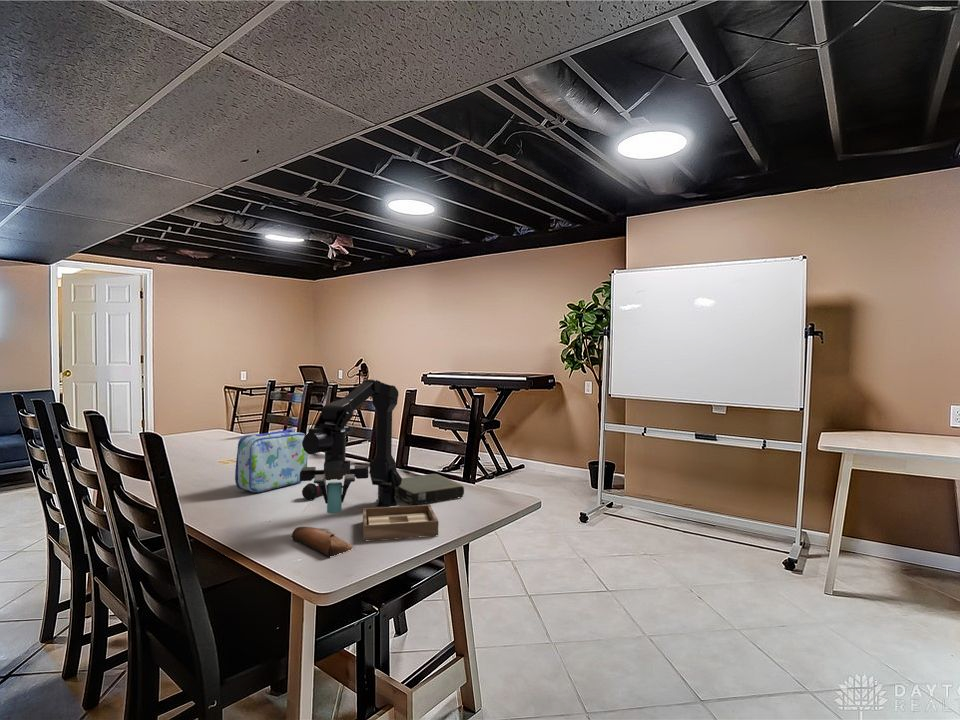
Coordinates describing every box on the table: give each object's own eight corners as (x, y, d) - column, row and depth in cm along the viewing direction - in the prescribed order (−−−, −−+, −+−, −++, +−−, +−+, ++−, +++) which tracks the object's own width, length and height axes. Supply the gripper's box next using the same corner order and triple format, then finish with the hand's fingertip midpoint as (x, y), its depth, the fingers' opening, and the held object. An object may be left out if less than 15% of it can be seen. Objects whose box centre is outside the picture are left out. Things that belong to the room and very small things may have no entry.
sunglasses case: (357, 548, 126) (346, 529, 124) (337, 570, 122) (324, 550, 119) (319, 531, 138) (308, 514, 135) (299, 550, 133) (287, 533, 131)
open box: (362, 522, 147) (363, 508, 147) (429, 517, 152) (429, 504, 152) (363, 541, 131) (364, 526, 131) (438, 535, 136) (438, 521, 136)
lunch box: (292, 478, 200) (293, 426, 200) (311, 481, 194) (311, 428, 194) (231, 492, 177) (232, 433, 177) (250, 496, 172) (251, 436, 172)
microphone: (338, 495, 186) (299, 502, 168) (335, 480, 188) (297, 485, 169) (349, 492, 184) (312, 499, 166) (347, 477, 186) (309, 482, 168)
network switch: (379, 494, 178) (379, 480, 178) (431, 484, 194) (431, 471, 194) (416, 510, 161) (416, 494, 161) (470, 497, 177) (470, 483, 177)
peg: (327, 509, 143) (327, 482, 143) (341, 508, 144) (342, 481, 144) (326, 513, 140) (327, 485, 140) (341, 513, 141) (341, 484, 141)
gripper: (297, 454, 132) (296, 513, 132) (369, 452, 136) (368, 509, 136) (302, 447, 143) (301, 501, 143) (368, 445, 147) (367, 498, 147)
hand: (334, 502), depth 142 cm, fingers closed on peg, 4 cm apart
